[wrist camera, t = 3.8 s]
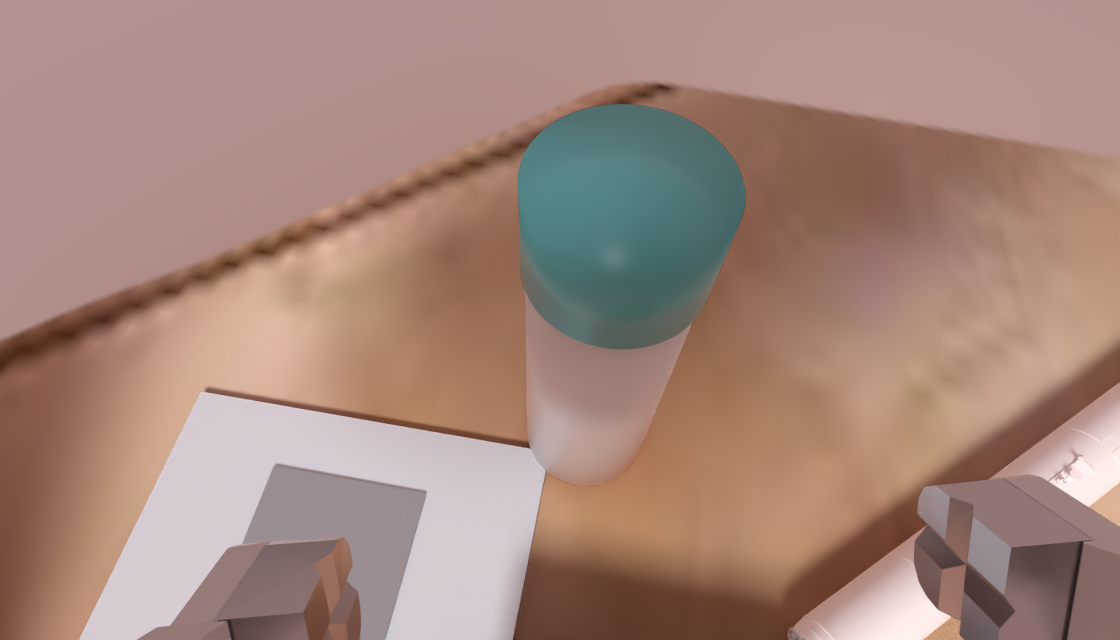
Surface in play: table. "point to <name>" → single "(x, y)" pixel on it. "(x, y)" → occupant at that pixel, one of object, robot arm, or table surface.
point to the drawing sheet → (335, 519)
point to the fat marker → (615, 275)
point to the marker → (891, 583)
